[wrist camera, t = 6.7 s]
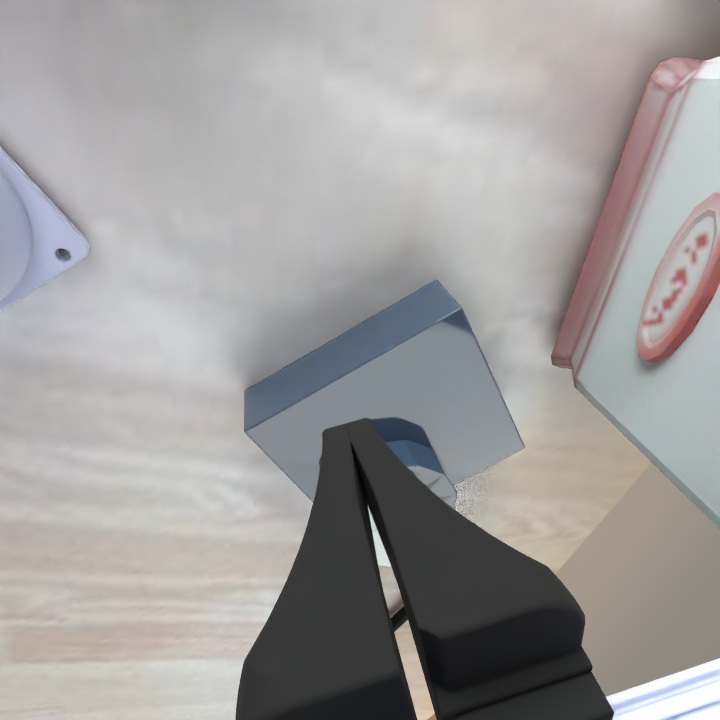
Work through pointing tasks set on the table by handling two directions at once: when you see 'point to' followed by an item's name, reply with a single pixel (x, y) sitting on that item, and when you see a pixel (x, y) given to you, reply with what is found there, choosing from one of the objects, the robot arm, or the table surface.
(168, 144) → the table surface
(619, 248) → the bottle
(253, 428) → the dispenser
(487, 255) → the table surface
